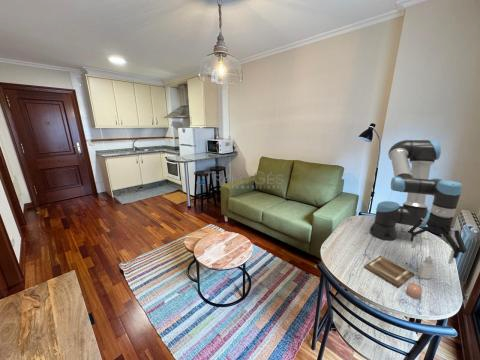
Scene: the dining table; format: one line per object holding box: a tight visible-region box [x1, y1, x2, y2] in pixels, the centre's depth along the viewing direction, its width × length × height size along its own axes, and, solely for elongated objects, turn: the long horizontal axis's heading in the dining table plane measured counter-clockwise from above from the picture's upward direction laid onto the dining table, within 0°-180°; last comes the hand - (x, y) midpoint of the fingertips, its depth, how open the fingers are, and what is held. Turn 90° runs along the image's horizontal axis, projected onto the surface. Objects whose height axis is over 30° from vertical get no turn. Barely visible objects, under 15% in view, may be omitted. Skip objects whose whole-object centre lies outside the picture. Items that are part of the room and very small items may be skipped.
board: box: [363, 255, 415, 289], centre depth 103 cm, size 16×16×2 cm
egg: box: [405, 282, 423, 300], centre depth 89 cm, size 5×5×4 cm
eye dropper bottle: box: [417, 255, 436, 280], centre depth 97 cm, size 4×6×12 cm
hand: (430, 254), depth 95 cm, fingers open, 13 cm apart
